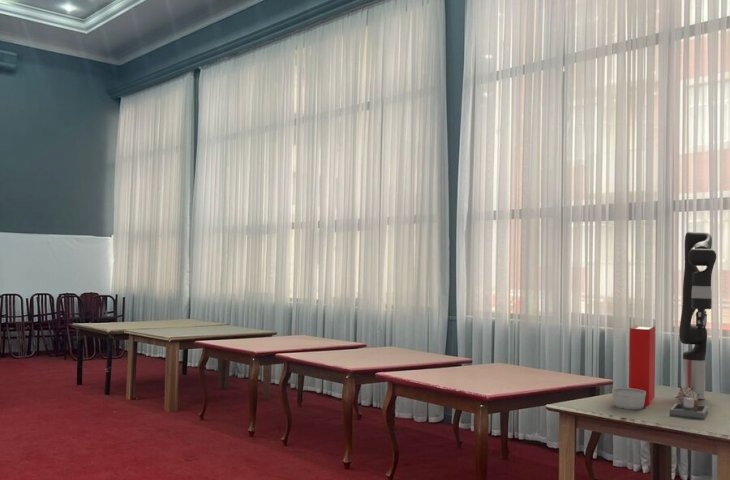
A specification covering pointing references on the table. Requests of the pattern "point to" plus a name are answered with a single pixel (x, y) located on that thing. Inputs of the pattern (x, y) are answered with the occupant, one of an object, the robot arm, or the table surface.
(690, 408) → the steel cylinder
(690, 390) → the game die
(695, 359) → the robot arm
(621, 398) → the ramekin
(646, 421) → the table surface
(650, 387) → the book
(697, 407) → the walnut cube
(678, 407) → the charcoal tray
